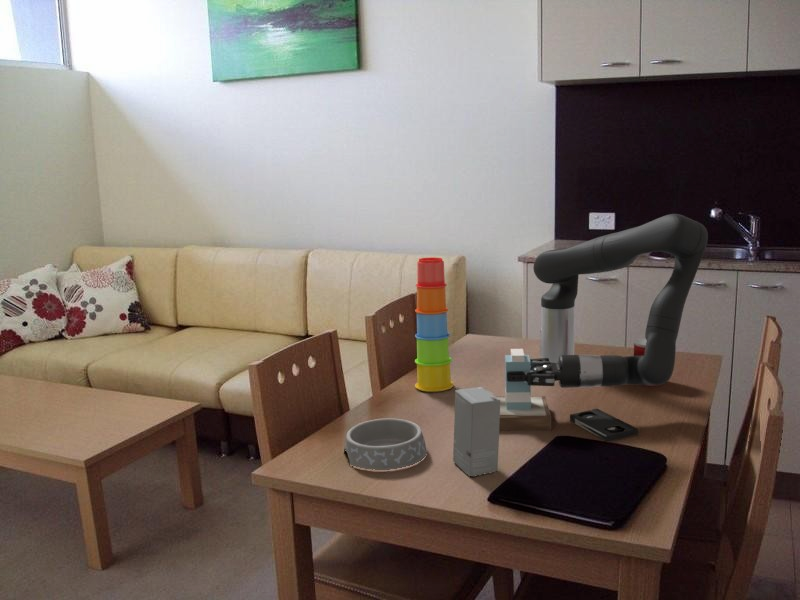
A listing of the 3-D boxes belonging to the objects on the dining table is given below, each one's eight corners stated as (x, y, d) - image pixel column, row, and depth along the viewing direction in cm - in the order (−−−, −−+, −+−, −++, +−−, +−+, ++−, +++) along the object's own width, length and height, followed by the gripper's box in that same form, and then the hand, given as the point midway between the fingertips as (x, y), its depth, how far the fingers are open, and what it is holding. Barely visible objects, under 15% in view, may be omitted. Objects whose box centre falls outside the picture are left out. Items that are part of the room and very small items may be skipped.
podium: (487, 408, 187) (487, 395, 186) (545, 407, 186) (545, 394, 185) (488, 430, 173) (488, 416, 173) (551, 429, 172) (551, 416, 171)
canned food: (669, 386, 197) (670, 345, 194) (637, 387, 197) (638, 346, 195) (659, 376, 204) (661, 337, 202) (629, 377, 205) (630, 338, 202)
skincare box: (452, 462, 157) (450, 389, 154) (483, 456, 160) (481, 384, 156) (470, 479, 150) (468, 402, 146) (502, 472, 152) (501, 396, 149)
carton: (505, 401, 182) (504, 348, 179) (529, 401, 181) (528, 348, 179) (506, 409, 176) (505, 355, 174) (531, 409, 176) (530, 355, 173)
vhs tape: (569, 422, 177) (569, 414, 177) (596, 416, 180) (597, 408, 180) (608, 444, 164) (608, 435, 164) (637, 437, 167) (637, 428, 167)
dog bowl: (355, 479, 153) (354, 454, 151) (337, 444, 170) (336, 422, 169) (436, 465, 157) (435, 441, 156) (410, 433, 174) (409, 411, 173)
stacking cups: (407, 387, 205) (401, 260, 197) (434, 378, 211) (430, 254, 204) (433, 396, 197) (429, 264, 190) (461, 386, 204) (457, 258, 196)
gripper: (576, 346, 182) (504, 348, 184) (584, 364, 168) (507, 366, 170) (576, 376, 183) (505, 377, 185) (584, 397, 169) (508, 398, 171)
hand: (506, 372), depth 177 cm, fingers open, 6 cm apart
